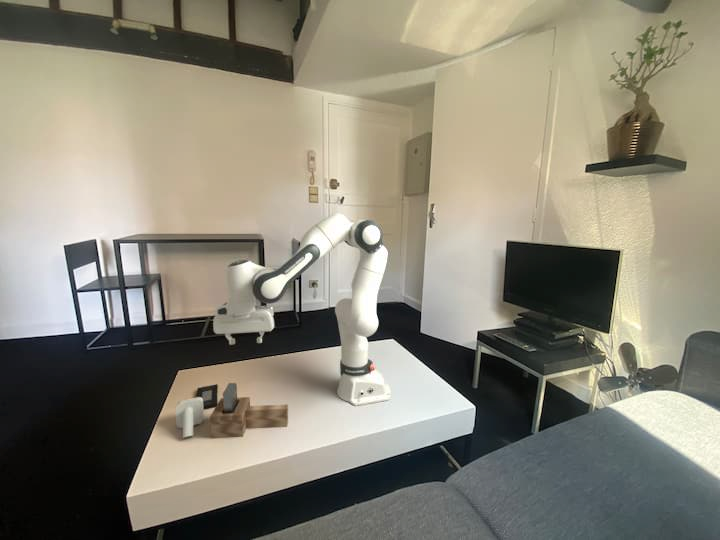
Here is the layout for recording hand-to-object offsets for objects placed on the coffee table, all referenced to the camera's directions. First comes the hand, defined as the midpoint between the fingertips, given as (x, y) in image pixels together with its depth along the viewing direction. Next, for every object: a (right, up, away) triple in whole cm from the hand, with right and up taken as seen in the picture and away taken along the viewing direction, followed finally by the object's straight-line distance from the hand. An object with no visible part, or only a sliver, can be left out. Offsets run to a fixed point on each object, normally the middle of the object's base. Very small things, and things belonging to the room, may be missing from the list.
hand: (246, 343), depth 107 cm
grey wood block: (-3, -24, -4) cm, 24 cm away
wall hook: (-18, -29, -5) cm, 34 cm away
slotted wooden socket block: (+3, -28, -3) cm, 29 cm away
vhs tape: (-20, -26, +12) cm, 35 cm away
